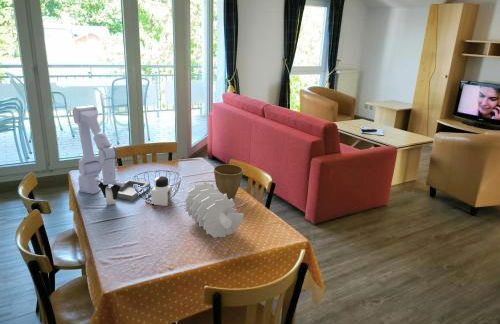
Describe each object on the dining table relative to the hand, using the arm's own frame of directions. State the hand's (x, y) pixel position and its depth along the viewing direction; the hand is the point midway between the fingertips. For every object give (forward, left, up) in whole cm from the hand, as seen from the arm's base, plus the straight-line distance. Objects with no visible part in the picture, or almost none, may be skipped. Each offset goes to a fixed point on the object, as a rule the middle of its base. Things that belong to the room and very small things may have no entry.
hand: (110, 197), depth 181 cm
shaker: (0, 0, -2) cm, 2 cm away
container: (+21, +11, -4) cm, 24 cm away
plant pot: (+50, +28, -4) cm, 57 cm away
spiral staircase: (+53, -3, -4) cm, 53 cm away
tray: (+1, +15, -3) cm, 15 cm away
